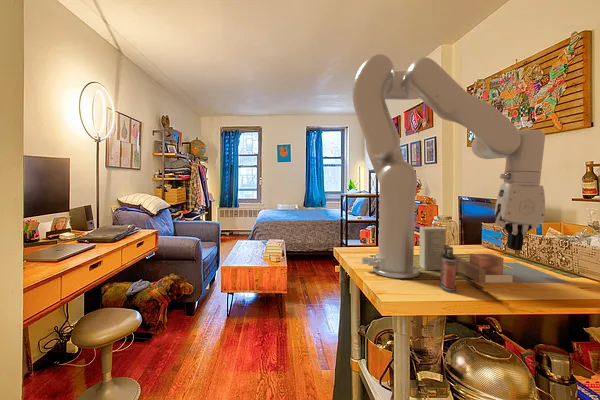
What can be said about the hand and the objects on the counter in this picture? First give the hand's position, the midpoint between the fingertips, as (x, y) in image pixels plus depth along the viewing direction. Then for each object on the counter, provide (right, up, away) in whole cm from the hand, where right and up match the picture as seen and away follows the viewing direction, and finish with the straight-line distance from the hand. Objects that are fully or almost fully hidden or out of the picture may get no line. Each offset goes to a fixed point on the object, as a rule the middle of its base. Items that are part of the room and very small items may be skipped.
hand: (514, 249), depth 78 cm
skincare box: (-17, -8, +11) cm, 21 cm away
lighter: (-20, -9, -5) cm, 22 cm away
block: (-8, -7, 0) cm, 10 cm away
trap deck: (-2, -8, +3) cm, 9 cm away
